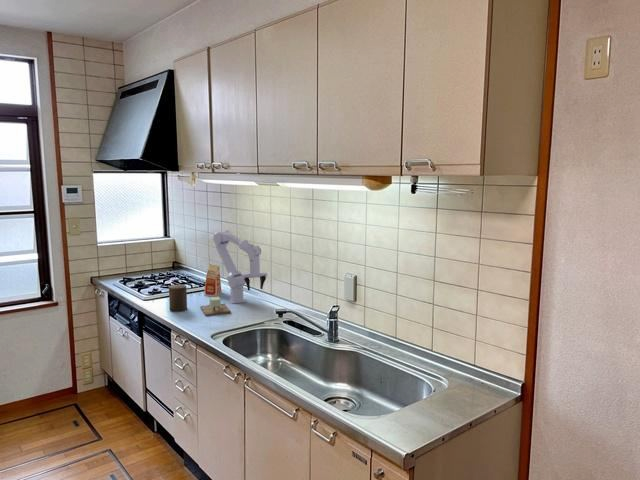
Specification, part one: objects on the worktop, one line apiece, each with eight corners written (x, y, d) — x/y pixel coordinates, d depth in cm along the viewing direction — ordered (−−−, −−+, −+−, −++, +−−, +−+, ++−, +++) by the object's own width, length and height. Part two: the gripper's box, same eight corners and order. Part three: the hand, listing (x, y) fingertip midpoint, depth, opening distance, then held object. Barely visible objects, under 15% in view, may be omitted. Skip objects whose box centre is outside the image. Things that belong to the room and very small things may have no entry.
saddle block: (209, 307, 277) (209, 297, 276) (218, 306, 279) (218, 296, 278) (211, 310, 271) (211, 300, 270) (220, 309, 273) (220, 299, 272)
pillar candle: (180, 312, 271) (179, 286, 269) (166, 310, 275) (165, 285, 272) (190, 308, 281) (189, 282, 278) (176, 306, 284) (175, 281, 282)
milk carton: (204, 295, 306) (203, 264, 303) (210, 291, 315) (209, 261, 312) (218, 296, 305) (217, 265, 302) (223, 292, 314) (222, 262, 311)
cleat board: (200, 308, 280) (200, 303, 280) (224, 305, 285) (224, 301, 285) (205, 316, 265) (205, 311, 265) (230, 313, 271) (230, 308, 270)
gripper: (244, 269, 277) (244, 292, 279) (268, 267, 282) (268, 289, 284) (241, 266, 283) (241, 289, 285) (265, 264, 289) (265, 286, 291)
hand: (255, 289), depth 285 cm, fingers open, 7 cm apart
